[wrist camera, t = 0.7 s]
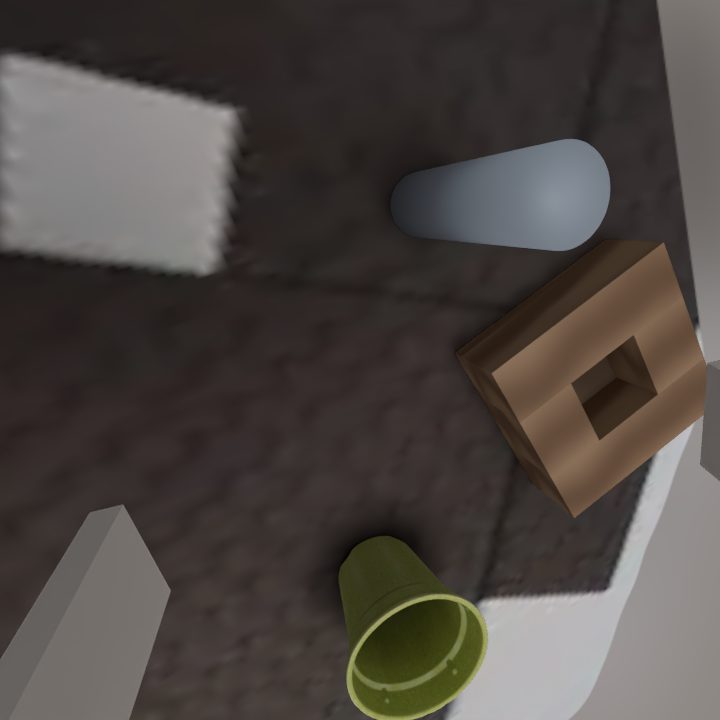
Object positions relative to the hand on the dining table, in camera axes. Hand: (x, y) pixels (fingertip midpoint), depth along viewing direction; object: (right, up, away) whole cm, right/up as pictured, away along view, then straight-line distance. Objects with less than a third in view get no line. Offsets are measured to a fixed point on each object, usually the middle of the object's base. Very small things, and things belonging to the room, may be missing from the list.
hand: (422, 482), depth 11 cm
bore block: (+15, +2, +27) cm, 31 cm away
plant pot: (0, -13, +27) cm, 30 cm away
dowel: (+2, +13, +20) cm, 24 cm away
